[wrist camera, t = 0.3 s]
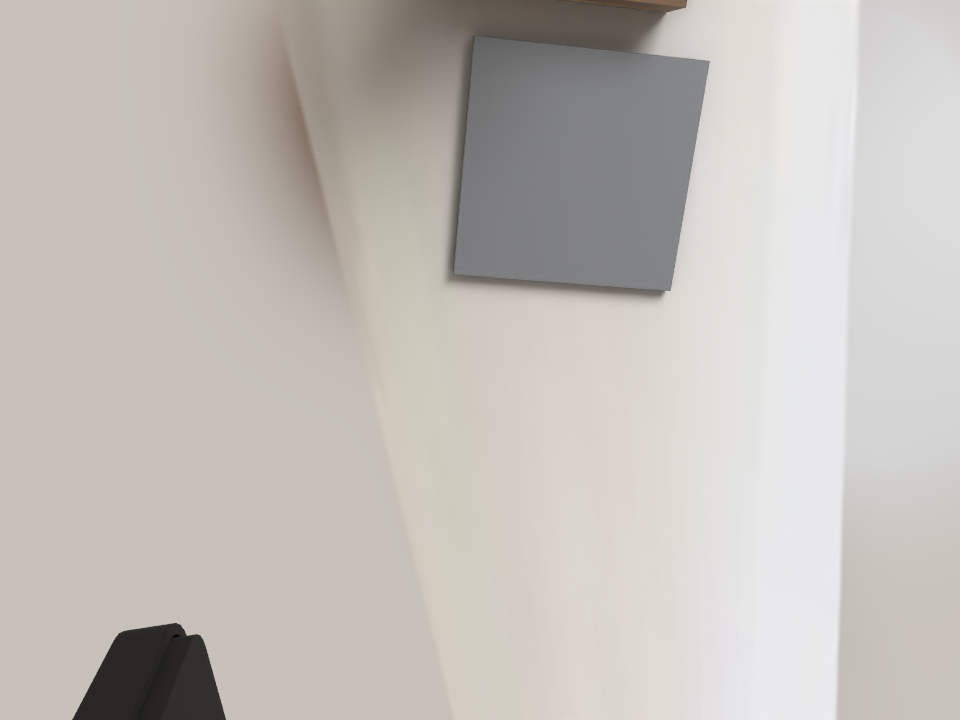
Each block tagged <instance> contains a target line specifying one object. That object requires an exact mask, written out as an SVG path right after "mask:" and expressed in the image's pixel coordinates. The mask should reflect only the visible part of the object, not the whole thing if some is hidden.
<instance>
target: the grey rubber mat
mask: <svg viewBox="0 0 960 720" xmlns="http://www.w3.org/2000/svg"><path fill="white" fill-rule="evenodd" d="M709 62H710V61H705V60H695V59H686V58H677V57H667V56H658V55H649V54H639V53H630V52H621V51H612V50H602V49H593V48H584V47H574V46H565V45H556V44H546V43H537V42H528V41H518V40H509V39H500V38H490V37H481V36H474V40H473V51H472V62H471V74H470V85H469V97H468V108H467V120H466V131H465V143H464V154H463V166H462V177H461V189H460V200H459V212H458V223H457V235H456V246H455V257H454V269H453V273H454V275H467V276H480V277H493V278H506V279H519V280H532V281H545V282H558V283H571V284H585V285H598V286H611V287H624V288H637V289H650V290H663V291H671V285H672V279H673V273H674V267H675V261H676V255H677V250H678V244H679V238H680V232H681V226H682V220H683V214H684V209H685V203H686V197H687V191H688V185H689V179H690V173H691V167H692V162H693V156H694V150H695V144H696V138H697V132H698V126H699V121H700V115H701V109H702V103H703V97H704V91H705V85H706V80H707V74H708V68H709Z"/></svg>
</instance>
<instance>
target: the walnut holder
mask: <svg viewBox="0 0 960 720" xmlns="http://www.w3.org/2000/svg"><path fill="white" fill-rule="evenodd" d="M564 1H572V2H581V3H590V4H599V5H608V6H617V7H625V8H634V9H643V10H652V11H661V12H670V11H674V10H677V9H681V8H685V7H686V4H687V0H564Z"/></svg>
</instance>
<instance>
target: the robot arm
mask: <svg viewBox="0 0 960 720" xmlns="http://www.w3.org/2000/svg"><path fill="white" fill-rule="evenodd" d="M72 720H226V718H225V715H224V711H223V707H222V704H221V700H220V696H219V693H218V689H217V686H216V682H215V679H214V675H213V671H212V668H211V664H210V661H209V657H208V653H207V650H206V647H205V644H204V641H203V639H202V638H201V636H200V635H197V634H196V635H190V636H186V633H185V631H184V629H183V628H182V626H181V625H179V624H177V623H174V624H167V625H161V626H153V627H147V628H140V629H134V630H127V631H123V632H121V633H119V634H118V636H117V637H116V638H115V640H114V641H113V643H112V645H111V647H110V649H109V651H108V653H107V655H106V657H105V659H104V660H103V662H102V664H101V666H100V668H99V670H98V672H97V674H96V676H95V678H94V679H93V682H92V683H91V685H90V687H89V689H88V691H87V693H86V695H85V697H84V698H83V701H82V702H81V704H80V706H79V708H78V710H77V712H76V714H75V716H74V718H73V719H72Z"/></svg>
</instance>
